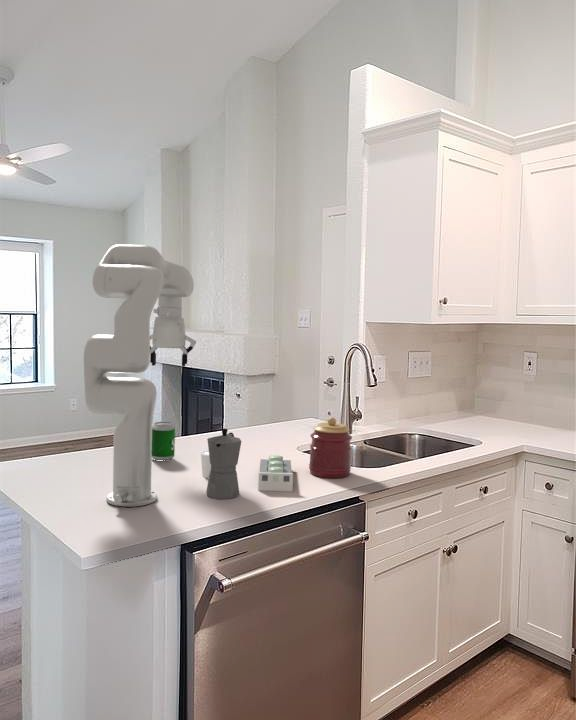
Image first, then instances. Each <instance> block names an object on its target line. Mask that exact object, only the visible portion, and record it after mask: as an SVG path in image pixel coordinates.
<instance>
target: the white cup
mask: <svg viewBox="0 0 576 720" xmlns="http://www.w3.org/2000/svg"><path fill="white" fill-rule="evenodd" d="M200 455H201V458H200V459H201V473H202V475H201V476H202V477H203V478H205V479H209V475H210V471H211V464H210V457H209V450H205V451H202V452H201V453H200Z"/></svg>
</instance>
